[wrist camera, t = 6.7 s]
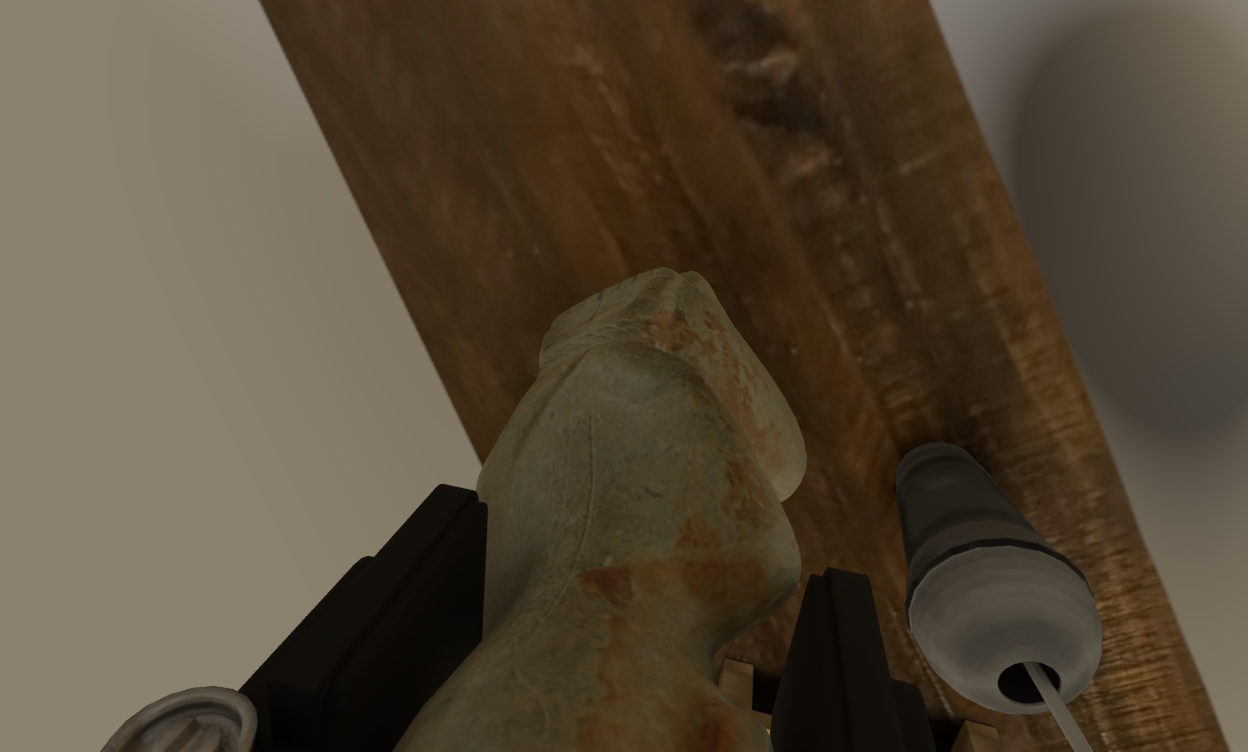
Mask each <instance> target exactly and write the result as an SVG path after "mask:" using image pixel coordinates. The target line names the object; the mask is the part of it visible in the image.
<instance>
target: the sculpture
mask: <svg viewBox="0 0 1248 752" xmlns="http://www.w3.org/2000/svg"><path fill="white" fill-rule="evenodd" d="M539 363H540V370H539V373H538V376H537V379H536V381H535V383H534V384H533V385H532V386H531V387H530V389H529V390H528V391H527V393H526V394H525V395H524V397H523V398H522V399H521V401H520V402H519V404H518V405H517V407H516V409H515V411H514V412H513V414H512V416H511V418H510V419H509V421H508V423H507V425H506V426H505V428H504V430H503V432H502V433H501V435H500V437H499V439H498V440H497V442H496V444H495V446H494V447H493V449H492V451H491V452H490V454H489V456H488V458H487V459H486V461H485V463H484V466H483V468H482V470H481V473H480V475H479V478H478V481H477V487H476V492H477V494H478V497H479V501H480V502H485V503H486V504H487V506H488V525H487V547H486V569H485V590H484V612H483V633H482V641H481V642H480V644H479V645H478V646H477V647H476V648H475V649H474V650H473V651H472V653H471V654H470V655H469V656H468V657H467V658H466V659H465V660H464V661H463V663H462V664H461V665H460V666H459V667H458V668H457V669H456V670H455V672H454V673H453V674H452V675H451V676H450V677H449V678H448V679H447V680H446V681H445V682H444V683H443V685H442V686H441V687H440V688H439V689H438V690H437V691H436V692H435V693H434V694H433V695H432V697H431V698H430V699H429V700H428V701H427V702H426V703H425V704H424V705H423V707H422V708H421V709H420V711H419V712H418V714H417V715H416V717H415V718H414V720H413V721H412V723H411V724H410V725H409V727H408V728H407V730H406V731H405V733H404V734H403V736H402V737H401V739H400V740H399V742H398V743H397V744H396V746H395V747H394V749H393V751H392V752H773V746H772V742H771V738H770V736H769V734H768V732H767V730H766V728H765V727H764V726H763V725H762V724H761V723H760V722H759V721H758V720H757V719H756V718H755V717H753V716H752V715H750V714H749V713H747V712H745V711H744V710H742V709H740V708H738V707H736V705H735V704H734V703H733V702H732V701H731V699H730V698H729V697H728V696H727V695H726V694H725V693H723V692H722V691H721V690H720V689H719V688H718V687H717V685H716V683H715V680H714V677H713V673H712V661H713V658H714V656H715V653H716V652H717V651H718V650H719V649H720V648H721V647H722V646H723V645H724V644H726V643H728V642H729V641H731V640H733V639H734V638H736V637H738V636H739V635H741V634H743V633H744V632H746V631H748V630H749V629H751V628H753V627H754V626H756V625H758V624H759V623H761V622H763V621H765V620H766V619H768V618H769V617H771V616H772V615H773V614H774V613H775V612H777V611H778V610H779V609H780V608H782V607H783V606H784V605H785V604H786V603H787V602H788V600H789V599H790V598H791V596H792V595H793V594H794V592H795V589H796V587H797V585H798V583H799V578H800V573H801V558H800V551H799V548H798V545H797V542H796V539H795V536H794V533H793V530H792V527H791V525H790V523H789V521H788V518H787V516H786V514H785V512H784V509H783V507H782V505H781V503H780V502H782V501H784V500H786V499H787V498H789V497H790V496H791V495H792V494H793V493H794V491H795V490H796V489H797V487H798V486H799V484H800V483H801V481H802V478H803V476H804V473H805V471H806V460H807V455H806V450H805V445H804V440H803V437H802V434H801V431H800V428H799V426H798V423H797V420H796V418H795V416H794V415H793V413H792V411H791V409H790V407H789V405H788V403H787V401H786V399H785V397H784V396H783V394H782V393H781V391H780V390H779V388H778V386H777V385H776V383H775V382H774V380H773V379H772V377H771V376H770V374H769V373H768V371H767V370H766V369H765V367H764V366H763V364H762V363H761V362H760V360H759V359H758V358H757V356H756V355H755V354H754V352H753V351H752V349H751V348H750V347H749V345H748V344H747V343H746V341H745V340H744V339H743V337H742V336H741V335H740V333H739V332H738V331H737V329H736V328H735V326H734V325H733V324H732V322H731V321H730V319H729V317H728V315H727V314H726V312H725V310H724V309H723V307H722V305H721V304H720V302H719V301H718V300H717V298H716V295H715V293H714V291H713V289H712V288H711V286H710V285H709V283H708V282H707V281H706V280H705V279H704V278H703V277H702V276H701V275H700V274H699V273H697V272H694V271H688V272H684V273H681V274H678V273H677V272H675V271H674V270H672V269H669V268H665V267H660V268H655V269H652V270H649V271H647V272H644V273H641V274H639V275H636V276H634V277H631V278H629V279H627V280H624V281H622V282H620V283H617V284H615V285H613V286H611V287H609V288H607V289H605V290H603V291H601V292H599V293H597V294H595V295H593V296H591V297H589V298H587V299H585V300H584V301H582V302H580V303H578V304H577V305H575V306H573V307H571V308H569V309H568V310H566V311H564V312H563V313H562V314H560V315H559V316H558V317H557V318H555V319H554V321H553V323H552V325H551V329H550V330H549V331H548V332H547V333H546V334H545V336H544V338H543V343H542V347H541V349H540V356H539Z"/></svg>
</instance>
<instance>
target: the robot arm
mask: <svg viewBox="0 0 1248 752" xmlns="http://www.w3.org/2000/svg"><path fill="white" fill-rule="evenodd" d="M487 525H488V506H487V504H486V503H485V502H480V501H479V497H478V494H477V492H476V491H474V490H469V489H464V488H460V487H455V486H450V485H446V484H440V485H439V486H437V487H436V488H435V489H434V490H433V492H432V493H431V494H430V495H429V496H428V497H427V498H426V499H425V500H424V501H423V503H422V504H421V505H420V506H419V507H418V508H417V509H416V510H415V512H414V513H413V514H412V515H411V516H410V517H409V518H408V519H407V521H406V522H405V523H404V524H403V525H402V526H401V527H400V529H399V530H398V531H397V532H396V533H395V534H394V535H393V536H392V537H391V539H390V540H389V541H388V542H387V543H386V544H385V545H384V546H383V548H382V549H381V550H380V551H379V552H378V553H377V554H376V555H375V557H371V556H366V557H363V558H361V559H360V560H359V561H358V562H357V563H355V564H354V565H353V566H352V567H351V569H350V570H349V571H348V572H347V573H346V574H345V575H344V576H343V577H342V578H341V579H340V580H339V582H338V583H337V584H336V585H335V586H334V587H333V588H332V589H331V590H330V591H329V592H328V594H327V595H326V596H325V597H324V598H323V599H322V600H321V601H320V602H319V603H318V605H317V606H316V607H315V608H314V609H313V610H312V611H311V612H310V613H309V614H308V615H307V616H306V617H305V619H304V620H303V621H302V622H301V623H300V624H299V625H298V626H297V627H296V628H295V629H294V630H293V632H292V633H291V634H290V635H289V636H288V637H287V638H286V639H285V640H284V641H283V642H282V644H281V645H280V646H279V647H278V648H277V649H276V650H275V651H274V652H273V653H272V654H271V655H270V657H269V658H268V659H267V660H266V661H265V662H264V663H263V664H262V665H261V666H260V667H259V669H258V670H257V671H256V672H255V673H254V674H253V675H252V676H251V677H250V678H249V679H248V681H247V682H246V683H245V684H244V685H243V686H242V687H241V688H240V689H239V690H238V691H236V690H234V689H229V688H223V687H217V686H209V687H199V688H191V689H187V690H184V691H181V692H177V693H174V694H170V695H168V696H166V697H164V698H162V699H160V700H158V701H156V702H154V703H152V704H149V705H147V706H146V707H144V708H143V709H142V710H140V711H139V712H138V713H137V714H135V715H134V716H132V717H131V718H129V719H128V720H127V721H126V722H125V723H124V724H123V725H122V726H121V727H120V728H119V729H118V730H117V731H116V732H115V734H114V735H113V736H112V737H111V738H110V739H109V740H108V742H107V743H106V745H105V746H104V747H103V749H102V750H101V752H392V751H393V749H394V747H395V746H396V744H397V743H398V742H399V740H400V739H401V737H402V736H403V734H404V733H405V731H406V730H407V728H408V727H409V725H410V724H411V723H412V721H413V720H414V718H415V717H416V715H417V714H418V712H419V711H420V709H421V708H422V707H423V705H424V704H425V703H426V702H427V701H428V700H429V699H430V698H431V697H432V695H433V694H434V693H435V692H436V691H437V690H438V689H439V688H440V687H441V686H442V685H443V683H444V682H445V681H446V680H447V679H448V678H449V677H450V676H451V675H452V674H453V673H454V672H455V670H456V669H457V668H458V667H459V666H460V665H461V664H462V663H463V661H464V660H465V659H466V658H467V657H468V656H469V655H470V654H471V653H472V651H473V650H474V649H475V648H476V647H477V646H478V645H479V644H480V642H481V641H482V633H483V612H484V590H485V569H486V547H487ZM770 738H771V742H772V746H773V752H937V749H936V745H935V742H934V738H933V734H932V730H931V726H930V723H929V719H928V715H927V711H926V707H925V704H924V700H923V697H922V695H921V692H920V690H919V688H918V687H917V686H916V685H915V684H910V683H906V682H902V681H898V680H894V679H891V678H890V674H889V669H888V664H887V660H886V655H885V650H884V646H883V641H882V636H881V632H880V627H879V622H878V618H877V613H876V608H875V604H874V599H873V594H872V590H871V585H870V581H869V578H868V576H866V575H863V574H858V573H854V572H849V571H844V570H840V569H835V568H830V567H828V568H826V570H825V572H824V574H823V576H819V575H815V574H811V575H810V577H809V580H808V583H807V587H806V590H805V594H804V598H803V601H802V605H801V609H800V612H799V616H798V620H797V623H796V627H795V631H794V634H793V638H792V642H791V645H790V649H789V653H788V656H787V660H786V664H785V667H784V671H783V675H782V678H781V682H780V686H779V689H778V693H777V696H776V700H775V704H774V708H773V712H772V718H771V727H770Z"/></svg>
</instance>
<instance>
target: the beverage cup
mask: <svg viewBox="0 0 1248 752" xmlns="http://www.w3.org/2000/svg"><path fill="white" fill-rule="evenodd" d="M895 481H896V496H897V504H898V511H899V517H900V524H901V531H902V537H903V544H904V550H905V557H906V564H907V570H908V574H907V584H906V595H907V598H906V601H905V611H906V621H907V626H908V628H909V630H910V632H911V633H912V635H913V637H914V639H915V641H916V643H917V644H918V646H919V647H920V649H921V650H922V652H923V654H924V656H925V658H926V659H927V661H928V663H929V664H930V666H931V667H932V669H933V670H934V671H935V672H936V673H937V674H938V675H939V676H940V677H941V678H942V679H943V680H944V681H945V682H946V683H947V684H949V685H950V686H951V687H952V688H953V689H954V690H955V691H956V692H958V693H959V694H961V695H962V696H963V697H965V698H967V699H969V700H971V701H973V702H975V703H977V704H980V705H982V706H984V707H986V708H988V709H991V710H995V711H999V712H1004V713H1008V714H1039V713H1043V712H1047V711H1051V712H1052V714H1053V716H1054V717H1055V719H1056V721H1057V722H1058V724H1059V726H1060V728H1061V729H1062V731H1063V733H1064V734H1065V736H1066V738H1067V740H1068V741H1069V743H1070V745H1071V746H1072V748H1073V750H1074V752H1093V750H1092V749H1091V747H1090V746H1089V744H1088V742H1087V741H1086V739H1085V737H1084V736H1083V734H1082V732H1081V731H1080V729H1079V727H1078V726H1077V724H1076V722H1075V721H1074V719H1073V718H1072V716H1071V714H1070V713H1069V711H1068V709H1067V708H1066V706H1065V704H1067V703H1068V702H1070V701H1072V700H1074V699H1075V698H1076V697H1077V696H1078V695H1079V694H1080V693H1081V692H1082V691H1083V690H1084V689H1085V688H1086V687H1087V686H1088V684H1089V683H1090V682H1091V680H1092V677H1093V675H1094V673H1095V671H1096V669H1097V667H1098V665H1099V662H1100V658H1101V640H1102V633H1101V621H1100V617H1099V613H1098V611H1097V609H1096V607H1095V600H1094V596H1093V594H1092V591H1091V589H1090V587H1089V585H1088V583H1087V580H1086V578H1085V576H1084V574H1083V573H1082V572H1081V571H1080V570H1079V569H1078V568H1077V567H1076V566H1075V565H1074V564H1073V563H1072V562H1070V561H1069V560H1068V559H1067V558H1066V557H1065V556H1064V555H1062V554H1060V553H1058V552H1057V551H1056V550H1055V549H1054V548H1053V547H1052V546H1051V545H1050V544H1049V543H1047V542H1046V541H1045V540H1044V539H1043V538H1042V537H1041V536H1040V535H1038V533H1037V532H1036V531H1035V530H1034V529H1033V527H1032V526H1031V525H1030V524H1029V522H1028V521H1027V520H1026V519H1025V518H1024V516H1023V515H1022V514H1021V513H1020V512H1019V510H1018V509H1017V508H1016V507H1015V505H1014V504H1013V503H1012V502H1011V501H1010V499H1009V498H1008V497H1007V496H1006V495H1005V493H1004V492H1003V491H1002V490H1001V488H1000V487H999V486H998V485H997V484H996V482H995V481H994V480H993V479H992V478H991V476H990V475H989V474H988V473H987V471H986V470H985V469H984V468H983V467H982V466H981V465H980V464H979V463H978V462H977V461H976V460H975V459H974V458H973V457H972V456H971V455H970V454H969V453H968V452H967V451H966V450H965V449H963V448H961V447H959V446H957V445H955V444H951V443H945V442H933V443H926V444H923V445H921V446H918V447H915V448H914V449H912V450H911V451H910V452H908V453H907V454H906V455H904V457H903V458H902V460H901V461H900V462H899V464H898V466H897V470H896V473H895Z"/></svg>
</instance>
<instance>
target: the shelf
mask: <svg viewBox="0 0 1248 752" xmlns="http://www.w3.org/2000/svg"><path fill="white" fill-rule="evenodd" d="M718 688H719V689H720V690H721V691H722V692H723V693H725V694H726V695H727V696H728V697H729V698H730V699H731V701H732V702H733V703H734V704H735V705H736V707H738V708H740V709H742V710H744V711H745V712H747V713H749V714H750V715H752V716H753V717H755V718H756V719H757V720H758V721H759V722H760V723H761V724H762V725H763V726H764V727H765V728H766V730H767V732H768V734H769V736H770V727H771V718H772V715H769V714H765V713H761V712H758V711H754V710H752V695H753V665H750V664H746V663H743V662H739V661H735V660H731V659H727V658H725V660H724V664H723V668H722V671H721V675H720V679H719V683H718ZM950 752H1004V750H1003V747H1002V744H1001V741H1000V739H999V736H998V733H997V730H996V728H994V727H990V726H986V725H982V724H979V723H975V722H971V721H967V720H965V721H964V723H963V725H962V727H961V730H960V732H959V734H958V736H957V738H956V740H955V742H954V745H953V747H952V749H951V751H950Z"/></svg>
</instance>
